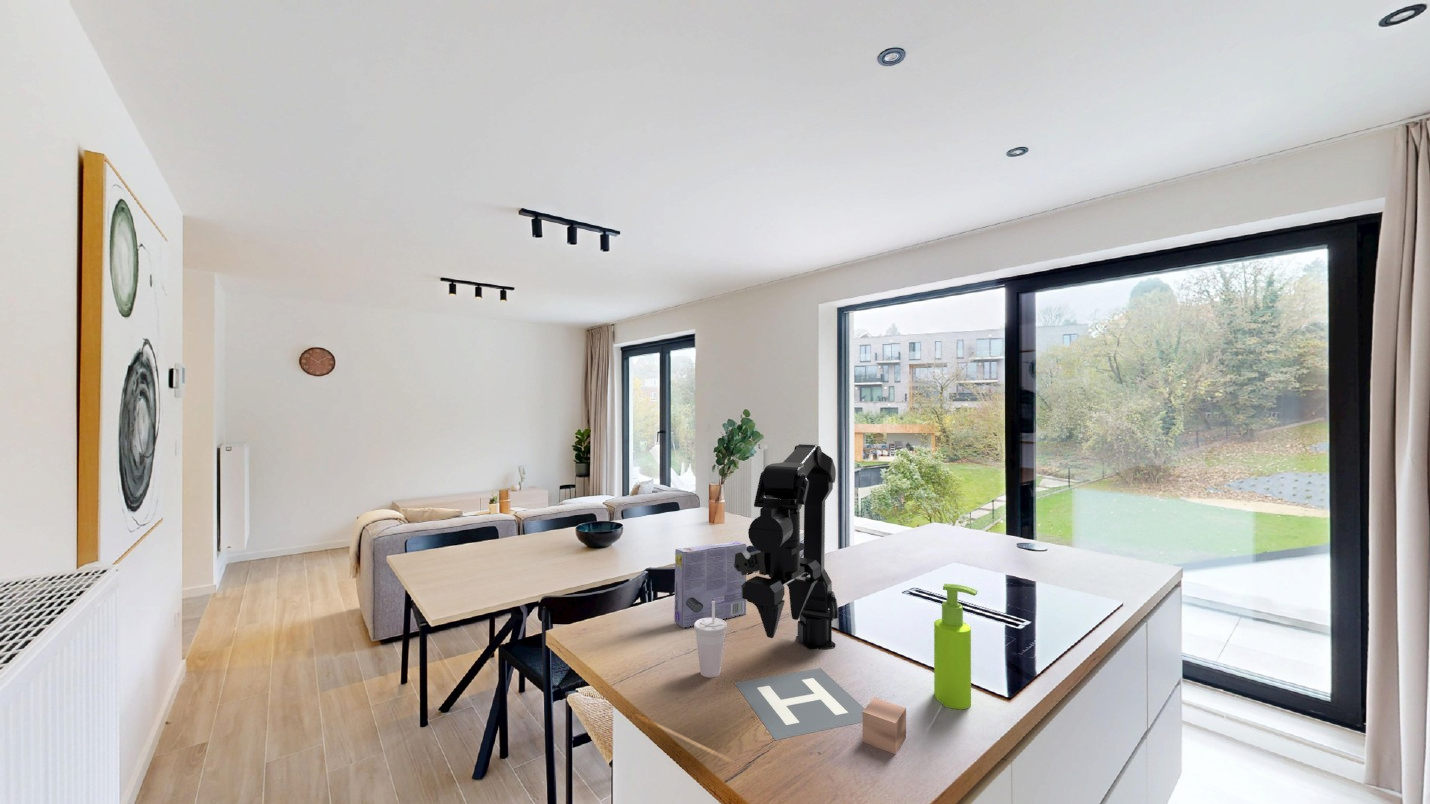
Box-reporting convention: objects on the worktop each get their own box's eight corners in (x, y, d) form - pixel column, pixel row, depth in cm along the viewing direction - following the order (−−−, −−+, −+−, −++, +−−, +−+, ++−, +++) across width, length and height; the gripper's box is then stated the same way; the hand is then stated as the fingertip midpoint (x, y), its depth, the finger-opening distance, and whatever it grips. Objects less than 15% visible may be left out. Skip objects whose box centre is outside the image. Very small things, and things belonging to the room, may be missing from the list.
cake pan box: (739, 607, 136) (740, 538, 137) (751, 614, 132) (751, 542, 132) (672, 622, 126) (673, 548, 127) (682, 630, 122) (682, 553, 122)
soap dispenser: (975, 715, 88) (975, 594, 89) (931, 702, 92) (931, 587, 92) (979, 699, 93) (979, 584, 94) (937, 687, 97) (937, 578, 97)
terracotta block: (874, 729, 85) (874, 697, 85) (906, 740, 82) (906, 708, 82) (862, 744, 81) (862, 711, 81) (895, 757, 78) (895, 723, 78)
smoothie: (723, 684, 98) (723, 608, 98) (689, 681, 99) (690, 605, 99) (729, 668, 104) (729, 596, 104) (697, 664, 106) (698, 594, 106)
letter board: (820, 670, 104) (820, 668, 104) (876, 721, 86) (876, 719, 87) (734, 684, 98) (734, 682, 98) (775, 742, 81) (775, 740, 81)
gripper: (769, 522, 105) (768, 602, 105) (714, 542, 89) (714, 635, 89) (821, 530, 98) (821, 614, 98) (772, 553, 83) (772, 653, 83)
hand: (783, 628), depth 92 cm, fingers open, 9 cm apart
